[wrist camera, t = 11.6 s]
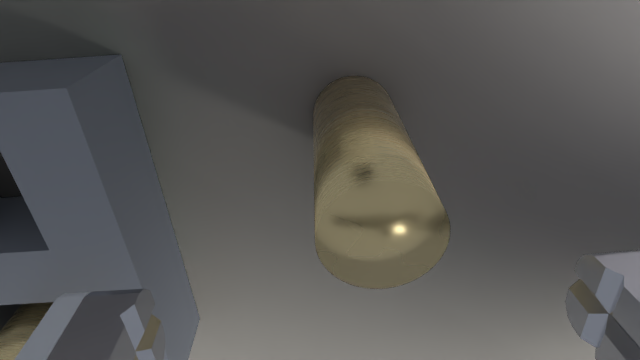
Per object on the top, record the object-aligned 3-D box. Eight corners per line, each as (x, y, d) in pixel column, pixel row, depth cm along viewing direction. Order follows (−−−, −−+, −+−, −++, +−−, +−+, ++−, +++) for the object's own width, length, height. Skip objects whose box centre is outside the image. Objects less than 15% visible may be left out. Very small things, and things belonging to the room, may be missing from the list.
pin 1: (108, 249, 20) (1, 414, 13) (127, 298, 22) (41, 467, 15) (42, 253, 20) (-99, 420, 13) (66, 301, 22) (-48, 472, 15)
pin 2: (393, 73, 16) (457, 176, 9) (391, 148, 18) (443, 285, 11) (310, 78, 16) (309, 185, 9) (316, 153, 18) (319, 292, 11)
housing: (-145, 73, 16) (-275, 111, 12) (121, 54, 15) (66, 88, 12) (16, 329, 23) (-37, 400, 19) (199, 318, 22) (179, 388, 19)
